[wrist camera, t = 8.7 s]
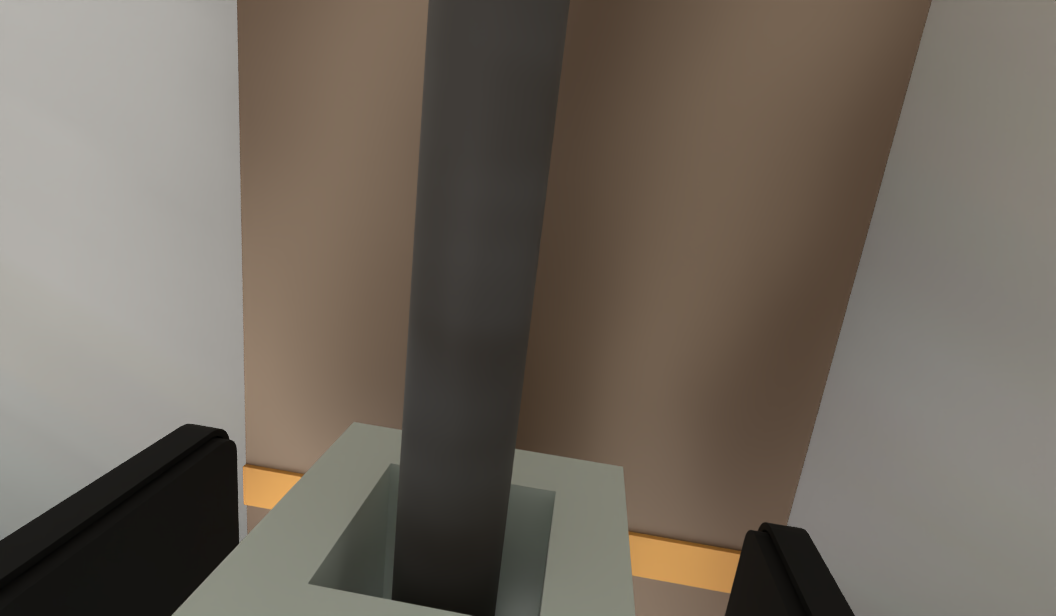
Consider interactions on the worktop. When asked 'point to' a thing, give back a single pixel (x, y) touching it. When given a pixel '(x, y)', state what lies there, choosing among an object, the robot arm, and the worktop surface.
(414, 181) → the rod slider rig
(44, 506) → the worktop surface
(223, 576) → the sleeve
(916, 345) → the worktop surface
